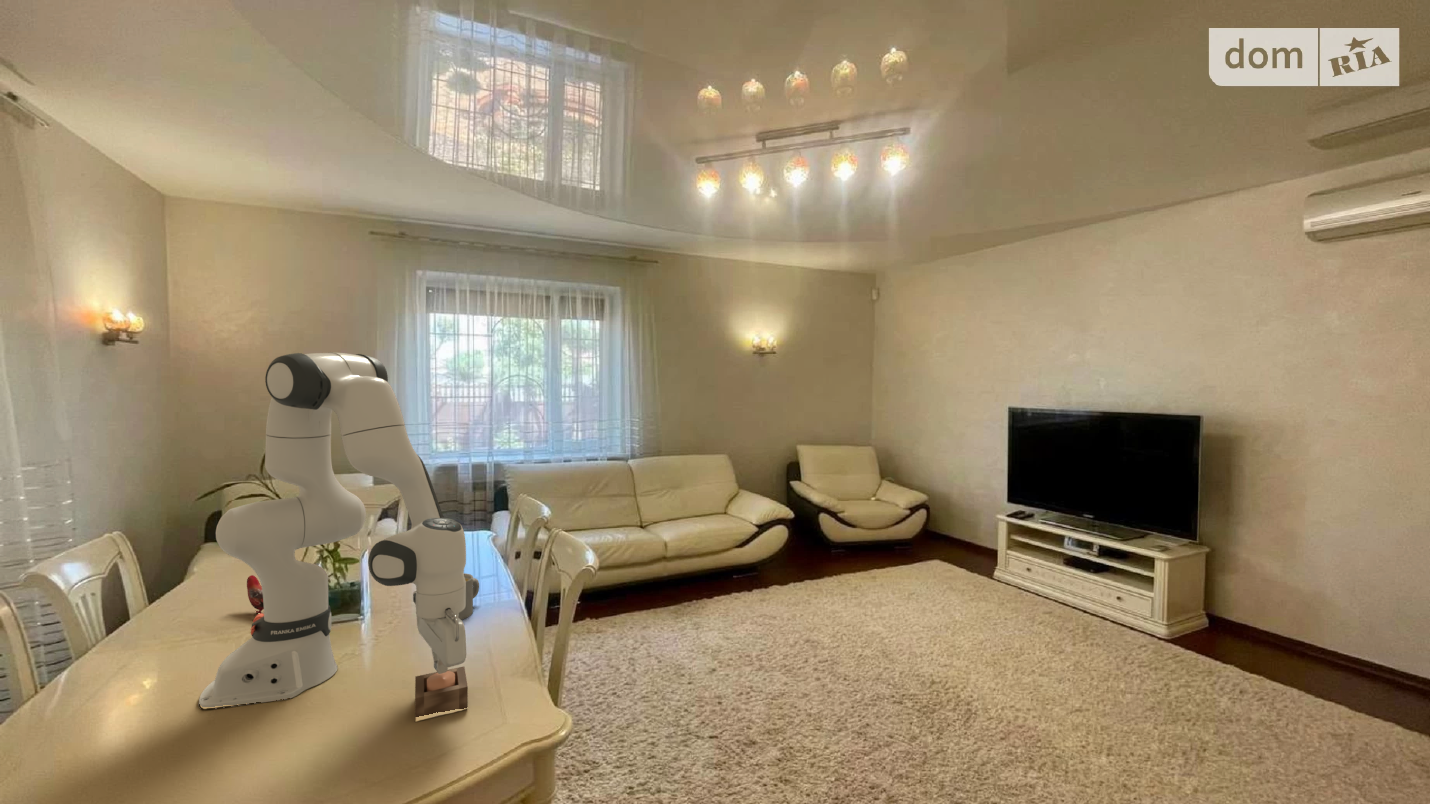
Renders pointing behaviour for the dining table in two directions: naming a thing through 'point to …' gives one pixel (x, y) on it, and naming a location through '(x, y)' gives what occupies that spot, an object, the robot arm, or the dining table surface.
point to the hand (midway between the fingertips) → (440, 670)
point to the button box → (441, 694)
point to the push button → (440, 681)
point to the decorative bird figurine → (255, 593)
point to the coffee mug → (469, 595)
